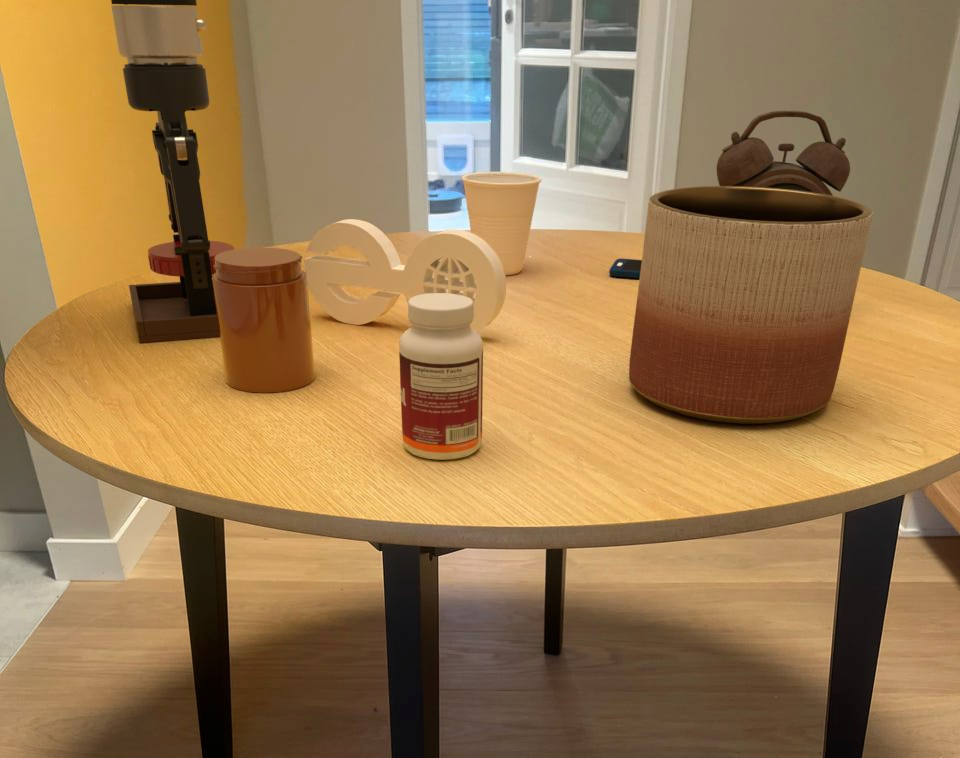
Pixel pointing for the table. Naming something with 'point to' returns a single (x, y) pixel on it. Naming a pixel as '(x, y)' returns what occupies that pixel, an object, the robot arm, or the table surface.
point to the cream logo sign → (402, 272)
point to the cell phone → (626, 268)
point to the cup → (502, 212)
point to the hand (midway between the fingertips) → (199, 307)
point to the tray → (168, 314)
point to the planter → (745, 300)
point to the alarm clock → (756, 167)
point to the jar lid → (179, 257)
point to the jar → (263, 319)
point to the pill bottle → (441, 378)
